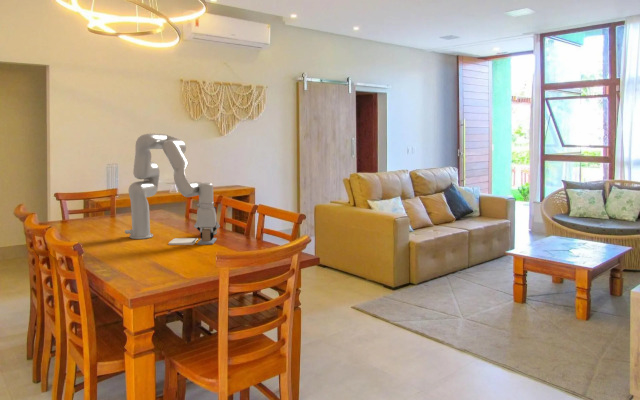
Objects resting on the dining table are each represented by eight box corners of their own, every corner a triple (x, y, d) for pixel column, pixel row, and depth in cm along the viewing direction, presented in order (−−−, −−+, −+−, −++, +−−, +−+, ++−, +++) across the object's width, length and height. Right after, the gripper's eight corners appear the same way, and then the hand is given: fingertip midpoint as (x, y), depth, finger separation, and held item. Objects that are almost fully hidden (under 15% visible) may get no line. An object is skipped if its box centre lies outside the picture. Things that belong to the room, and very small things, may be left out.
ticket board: (168, 244, 260) (168, 242, 259) (174, 239, 271) (174, 237, 271) (193, 244, 260) (193, 242, 260) (198, 239, 272) (198, 237, 272)
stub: (197, 244, 260) (197, 231, 259) (202, 239, 272) (201, 227, 271) (212, 244, 260) (212, 231, 259) (216, 239, 272) (216, 227, 271)
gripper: (189, 206, 260) (190, 240, 262) (220, 206, 260) (221, 240, 263) (192, 204, 267) (193, 237, 269) (223, 204, 268) (223, 237, 270)
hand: (207, 239), depth 266 cm, fingers closed on stub, 4 cm apart
